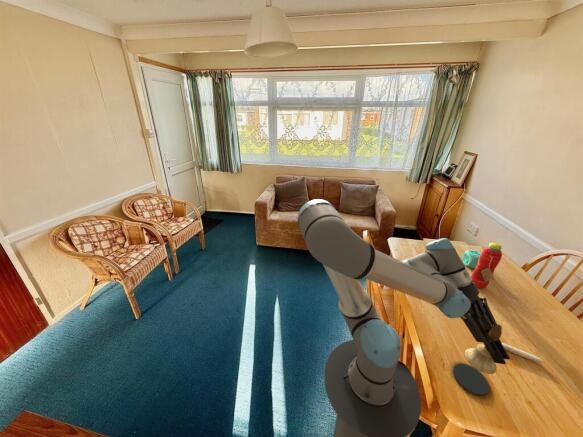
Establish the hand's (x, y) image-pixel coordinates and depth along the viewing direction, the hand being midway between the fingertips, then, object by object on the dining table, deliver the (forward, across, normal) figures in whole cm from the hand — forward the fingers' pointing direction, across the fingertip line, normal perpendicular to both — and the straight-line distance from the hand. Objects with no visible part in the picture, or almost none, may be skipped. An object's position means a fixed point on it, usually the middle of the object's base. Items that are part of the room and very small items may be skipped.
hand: (502, 360), depth 68 cm
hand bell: (+1, 0, +7) cm, 7 cm away
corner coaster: (+8, 0, +14) cm, 16 cm away
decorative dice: (-15, +69, +31) cm, 77 cm away
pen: (+12, +26, +10) cm, 30 cm away
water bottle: (-6, +54, +29) cm, 61 cm away
